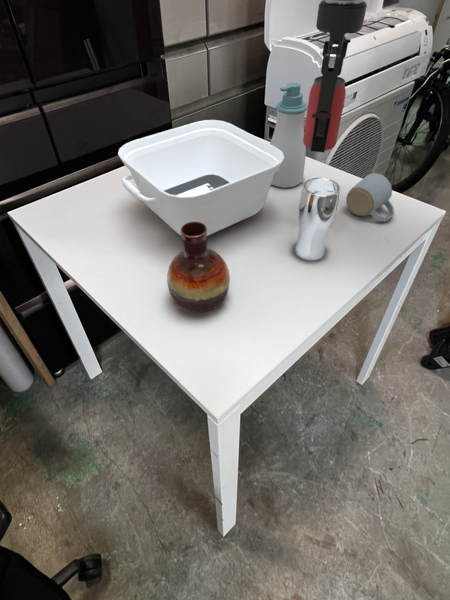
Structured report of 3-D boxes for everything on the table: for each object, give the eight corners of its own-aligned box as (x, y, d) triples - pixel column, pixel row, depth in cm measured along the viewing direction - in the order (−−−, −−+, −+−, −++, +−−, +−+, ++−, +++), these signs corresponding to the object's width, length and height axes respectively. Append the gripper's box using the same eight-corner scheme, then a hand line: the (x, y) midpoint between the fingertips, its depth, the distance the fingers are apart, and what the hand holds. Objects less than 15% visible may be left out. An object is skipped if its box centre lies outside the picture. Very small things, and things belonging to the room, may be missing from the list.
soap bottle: (257, 179, 99) (262, 84, 83) (282, 167, 104) (291, 75, 87) (285, 193, 94) (296, 95, 78) (310, 180, 98) (325, 84, 82)
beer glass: (286, 247, 79) (294, 182, 68) (312, 237, 81) (325, 173, 70) (305, 266, 75) (318, 200, 64) (333, 255, 77) (349, 190, 66)
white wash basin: (225, 168, 104) (224, 113, 93) (297, 214, 88) (306, 153, 77) (112, 210, 90) (96, 151, 79) (173, 274, 74) (162, 210, 63)
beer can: (296, 141, 78) (304, 77, 69) (324, 136, 79) (335, 72, 71) (313, 154, 73) (323, 88, 65) (341, 149, 75) (355, 83, 66)
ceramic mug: (340, 210, 88) (348, 181, 83) (358, 197, 92) (367, 167, 86) (381, 229, 83) (392, 199, 78) (398, 214, 87) (410, 184, 81)
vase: (207, 269, 75) (202, 201, 63) (242, 301, 68) (243, 232, 57) (159, 293, 70) (145, 225, 59) (191, 329, 64) (182, 261, 53)
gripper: (366, 12, 52) (334, 167, 69) (368, -9, 65) (341, 126, 82) (312, 10, 54) (294, 163, 70) (325, -10, 67) (306, 123, 83)
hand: (319, 143), depth 76 cm, fingers closed on beer can, 7 cm apart
